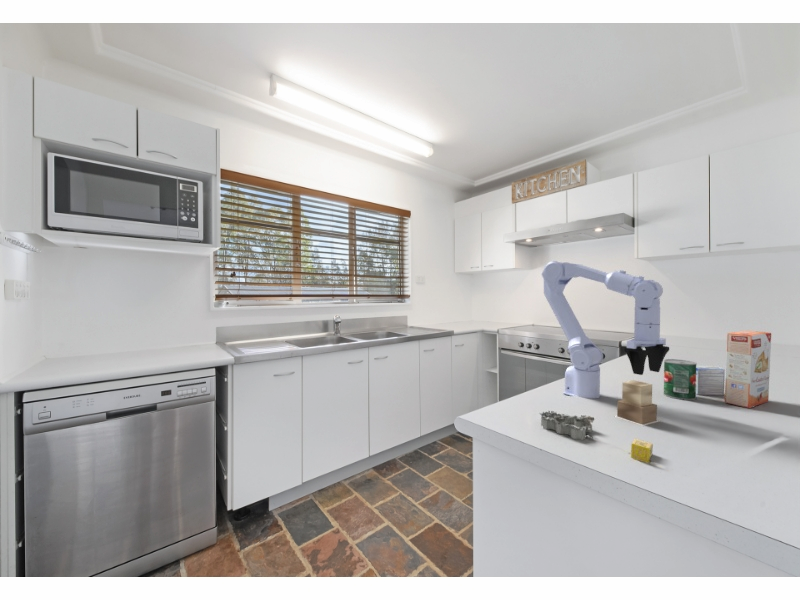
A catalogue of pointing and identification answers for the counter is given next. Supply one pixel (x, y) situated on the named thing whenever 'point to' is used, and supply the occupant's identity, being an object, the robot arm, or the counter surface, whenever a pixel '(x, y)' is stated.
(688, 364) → the canned tomato
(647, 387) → the oak block
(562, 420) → the egg carton
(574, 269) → the robot arm
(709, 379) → the medicine box
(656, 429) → the counter surface
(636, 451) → the alphabet block
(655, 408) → the walnut block
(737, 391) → the cracker box
